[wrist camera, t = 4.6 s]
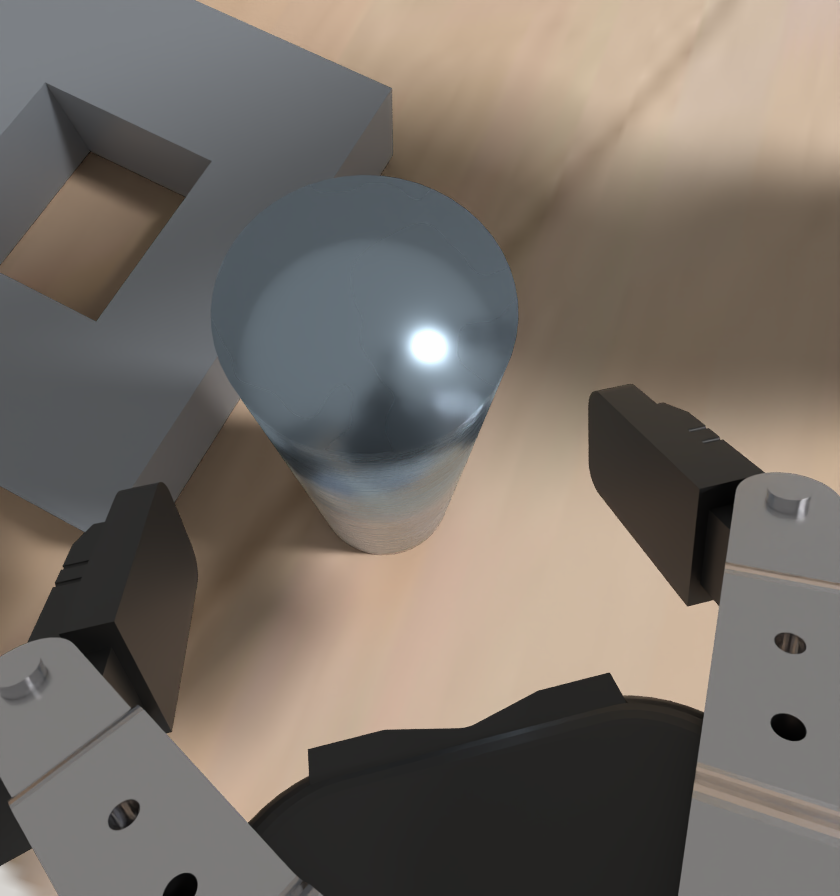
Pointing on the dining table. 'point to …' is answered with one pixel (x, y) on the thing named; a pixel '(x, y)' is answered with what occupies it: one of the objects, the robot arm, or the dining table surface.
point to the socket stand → (176, 247)
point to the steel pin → (368, 346)
